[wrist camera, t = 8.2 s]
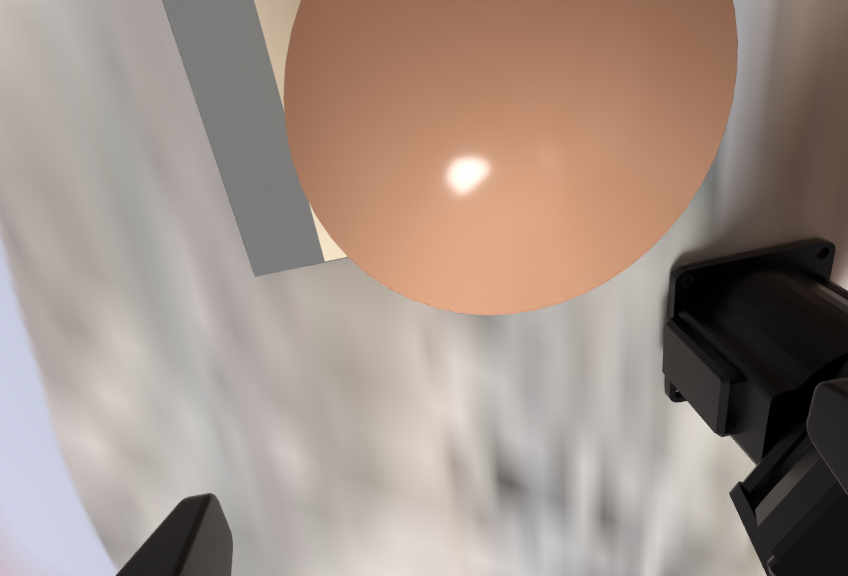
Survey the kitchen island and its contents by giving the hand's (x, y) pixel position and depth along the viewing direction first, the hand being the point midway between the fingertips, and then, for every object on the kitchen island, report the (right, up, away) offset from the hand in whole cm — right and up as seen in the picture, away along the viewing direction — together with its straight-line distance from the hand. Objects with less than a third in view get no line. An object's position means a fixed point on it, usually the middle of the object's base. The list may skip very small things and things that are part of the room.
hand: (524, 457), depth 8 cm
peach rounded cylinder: (-1, +6, +2) cm, 7 cm away
